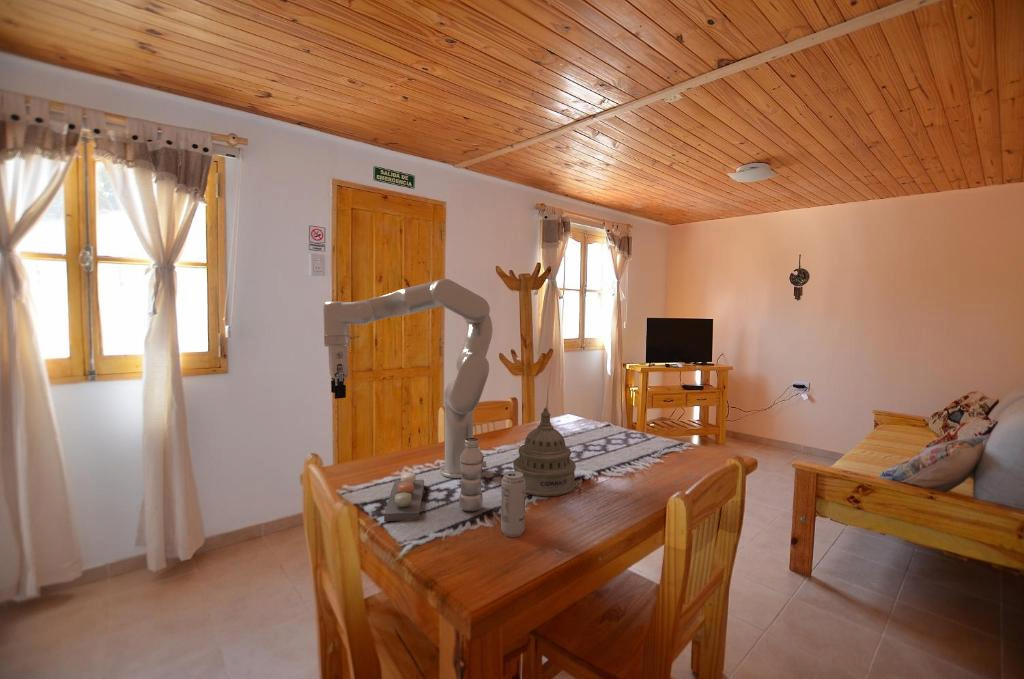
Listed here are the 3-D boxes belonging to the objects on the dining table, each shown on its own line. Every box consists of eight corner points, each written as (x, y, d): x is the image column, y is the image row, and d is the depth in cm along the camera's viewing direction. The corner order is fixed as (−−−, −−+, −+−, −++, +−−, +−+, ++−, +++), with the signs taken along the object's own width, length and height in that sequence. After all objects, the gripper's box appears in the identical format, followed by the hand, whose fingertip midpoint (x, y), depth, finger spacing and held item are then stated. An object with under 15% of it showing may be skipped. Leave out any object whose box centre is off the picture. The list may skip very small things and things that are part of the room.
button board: (424, 485, 146) (424, 479, 146) (418, 519, 123) (418, 512, 123) (394, 486, 145) (394, 480, 145) (384, 521, 122) (384, 513, 122)
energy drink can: (525, 537, 115) (526, 478, 113) (501, 538, 114) (502, 479, 113) (523, 526, 120) (524, 470, 119) (500, 526, 120) (500, 470, 119)
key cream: (416, 478, 144) (416, 472, 143) (415, 484, 139) (415, 477, 139) (401, 479, 143) (401, 473, 143) (400, 484, 139) (400, 478, 138)
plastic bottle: (460, 503, 133) (461, 435, 132) (484, 504, 133) (484, 436, 131) (457, 514, 127) (457, 442, 125) (481, 514, 127) (482, 443, 125)
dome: (506, 412, 140) (522, 399, 159) (504, 492, 142) (521, 470, 161) (572, 417, 134) (581, 403, 154) (570, 501, 136) (579, 476, 156)
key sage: (412, 499, 129) (412, 492, 129) (410, 506, 124) (410, 498, 124) (395, 499, 128) (395, 492, 128) (393, 506, 124) (393, 499, 124)
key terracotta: (414, 488, 136) (414, 481, 136) (413, 494, 132) (413, 487, 132) (398, 489, 136) (398, 482, 135) (397, 495, 131) (397, 488, 131)
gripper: (353, 342, 138) (355, 399, 140) (346, 338, 154) (347, 389, 155) (326, 343, 135) (328, 401, 136) (321, 339, 150) (323, 391, 152)
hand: (338, 395), depth 146 cm, fingers open, 9 cm apart
